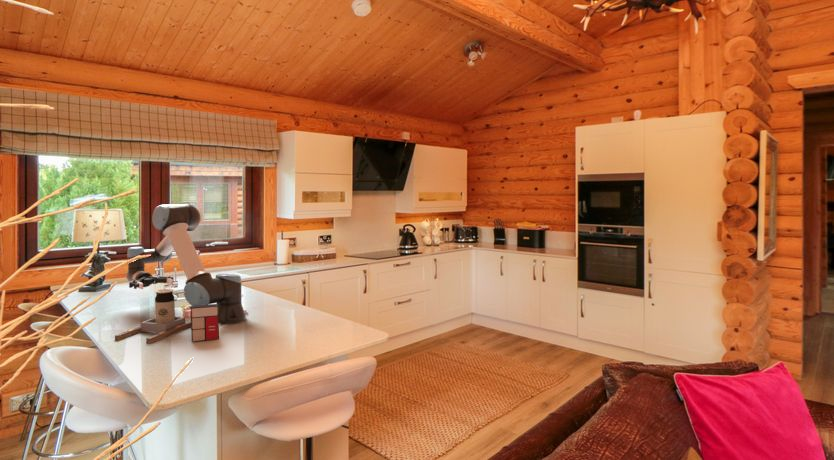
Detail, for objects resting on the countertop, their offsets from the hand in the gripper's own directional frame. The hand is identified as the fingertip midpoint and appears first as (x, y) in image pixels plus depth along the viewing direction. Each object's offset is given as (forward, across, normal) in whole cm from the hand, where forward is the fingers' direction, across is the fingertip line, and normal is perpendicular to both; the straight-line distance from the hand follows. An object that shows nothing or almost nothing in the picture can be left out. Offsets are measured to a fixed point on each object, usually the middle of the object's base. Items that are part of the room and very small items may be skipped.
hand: (157, 284), depth 239 cm
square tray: (+14, +3, -19) cm, 24 cm away
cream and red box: (+42, -4, -20) cm, 47 cm away
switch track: (+17, +8, -19) cm, 26 cm away
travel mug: (+13, +2, -19) cm, 23 cm away
